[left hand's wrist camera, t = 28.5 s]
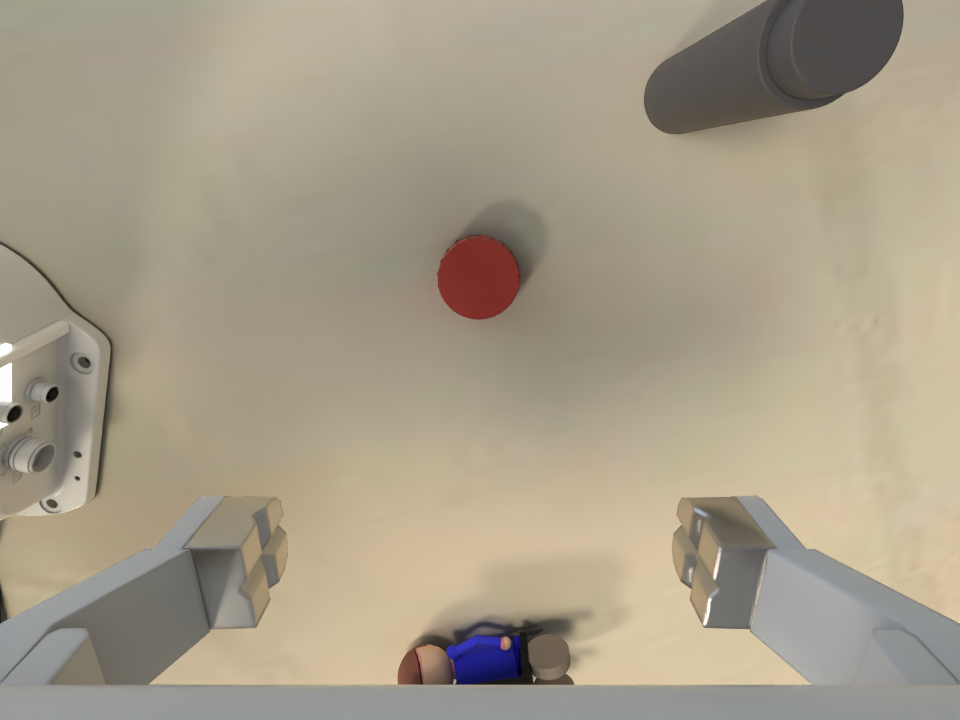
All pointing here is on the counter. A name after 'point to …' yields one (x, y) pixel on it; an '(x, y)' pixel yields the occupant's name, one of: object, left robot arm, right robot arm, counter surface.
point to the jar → (774, 63)
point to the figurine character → (490, 661)
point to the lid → (478, 277)
